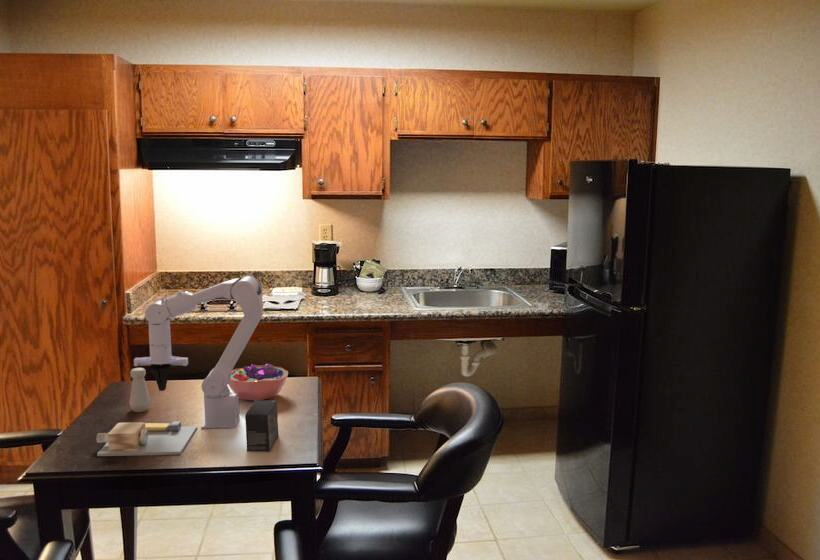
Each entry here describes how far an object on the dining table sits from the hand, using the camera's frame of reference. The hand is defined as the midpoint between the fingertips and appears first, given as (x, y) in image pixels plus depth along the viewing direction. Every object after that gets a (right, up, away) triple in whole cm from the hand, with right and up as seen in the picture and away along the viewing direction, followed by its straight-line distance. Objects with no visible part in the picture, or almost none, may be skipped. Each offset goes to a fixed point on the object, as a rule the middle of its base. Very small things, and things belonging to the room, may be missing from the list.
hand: (162, 389), depth 191 cm
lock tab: (0, -10, -5) cm, 11 cm away
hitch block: (-4, -13, -14) cm, 20 cm away
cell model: (+22, -7, +24) cm, 33 cm away
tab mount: (+5, -11, -4) cm, 13 cm away
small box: (+31, -13, -11) cm, 35 cm away
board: (0, -12, -11) cm, 16 cm away
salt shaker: (-12, -9, +13) cm, 19 cm away
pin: (-5, -12, -14) cm, 20 cm away
